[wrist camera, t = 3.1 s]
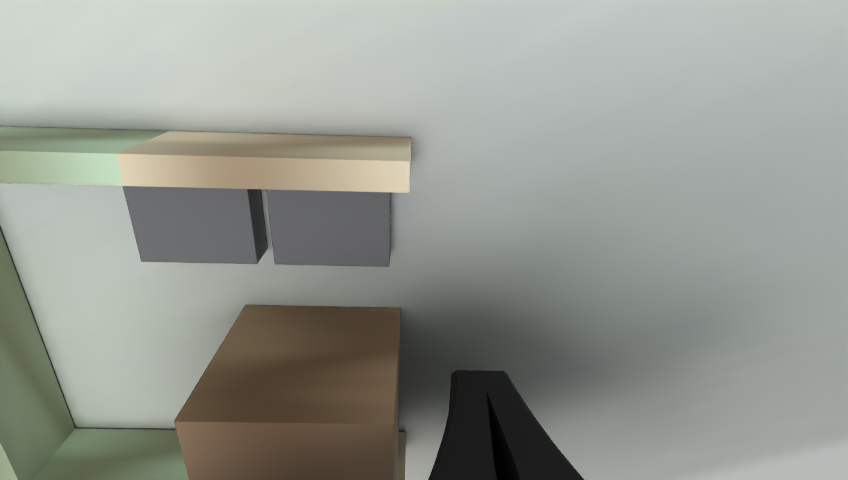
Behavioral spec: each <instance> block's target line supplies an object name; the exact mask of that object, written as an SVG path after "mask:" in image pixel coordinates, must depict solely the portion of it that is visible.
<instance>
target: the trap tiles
mask: <svg viewBox="0 0 848 480" xmlns="http://www.w3.org/2000/svg"><path fill="white" fill-rule="evenodd" d="M123 189H124V193H125V197H126V201H127V205H128V209H129V213H130V218H131V222H132V226H133V230H134V234H135V238H136V242H137V246H138V250H139V254H140V258H141V262H186V263H235V264H257V263H258V262H259V260H260V259H261V258H262V256H263V255H264V253H265V252H266V250H267V241H266V233H265V225H264V216H263V208H262V200H261V192H260V189H231V188H190V187H148V186H123ZM266 192H267V201H268V209H269V218H270V227H271V235H272V244H273V253H274V261H275V264H284V265H332V266H381V267H389V263H390V254H391V192H355V191H314V190H272V189H266Z"/></svg>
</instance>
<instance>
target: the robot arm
mask: <svg viewBox="0 0 848 480" xmlns="http://www.w3.org/2000/svg"><path fill="white" fill-rule="evenodd" d="M429 480H584V479H583V478H582V477H581V475H580V474H579V473H578V472H577V471H576V470H575V468H574V467H573V466H572V465H571V464H570V462H569V461H568V460H567V459H566V458H565V456H564V455H563V454H562V453H561V452H560V450H559V449H558V448H557V446H556V445H555V444H554V443H553V441H552V440H551V439H550V437H549V436H548V435H547V433H546V432H545V430H544V429H543V428H542V426H541V425H540V424H539V422H538V421H537V420H536V418H535V417H534V415H533V414H532V412H531V411H530V410H529V408H528V407H527V405H526V404H525V402H524V401H523V399H522V397H521V396H520V394H519V393H518V391H517V390H516V388H515V386H514V385H513V383H512V381H511V380H510V378H509V376H508V375H507V374H506V373H505V372H504V371H468V370H456V371H455V372H453V373H452V374H451V387H450V402H449V414H448V418H447V423H446V427H445V431H444V435H443V438H442V442H441V445H440V448H439V451H438V454H437V457H436V460H435V463H434V466H433V469H432V472H431V474H430V477H429Z"/></svg>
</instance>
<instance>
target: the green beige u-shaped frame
mask: <svg viewBox="0 0 848 480" xmlns="http://www.w3.org/2000/svg"><path fill="white" fill-rule="evenodd" d="M410 171H411V137H374V136H337V135H300V134H263V133H226V132H189V131H152V130H115V129H78V128H41V127H4V126H0V183H25V184H66V185H107V186H148V187H190V188H231V189H272V190H314V191H355V192H396V193H409V192H410ZM405 452H406V433H401V432H399V441H398V462H397V480H405ZM0 480H189V478H188V474H187V470H186V467H185V463H184V459H183V455H182V451H181V447H180V443H179V439H178V436H177V432H176V430H153V429H75V427H74V424H73V421H72V419H71V416H70V413H69V411H68V408H67V406H66V403H65V400H64V398H63V395H62V392H61V390H60V387H59V384H58V382H57V379H56V376H55V374H54V371H53V368H52V366H51V363H50V360H49V358H48V355H47V353H46V350H45V347H44V345H43V342H42V339H41V337H40V334H39V331H38V329H37V326H36V323H35V321H34V318H33V315H32V313H31V310H30V307H29V305H28V302H27V299H26V297H25V294H24V292H23V289H22V286H21V284H20V281H19V278H18V276H17V273H16V270H15V268H14V265H13V262H12V260H11V257H10V254H9V252H8V249H7V246H6V244H5V241H4V238H3V236H2V233H1V231H0Z"/></svg>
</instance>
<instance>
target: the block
mask: <svg viewBox="0 0 848 480" xmlns="http://www.w3.org/2000/svg"><path fill="white" fill-rule="evenodd" d="M400 310H401V308H391V307H336V306H281V305H245V307H244V308H243V310H242V312H241V313H240V315H239V317H238V318H237V320H236V321H235V323H234V325H233V326H232V328H231V330H230V331H229V333H228V334H227V336H226V338H225V339H224V341H223V343H222V344H221V346H220V347H219V349H218V351H217V352H216V354H215V356H214V357H213V359H212V360H211V362H210V364H209V365H208V367H207V369H206V370H205V372H204V373H203V375H202V377H201V378H200V380H199V382H198V383H197V385H196V386H195V388H194V390H193V391H192V393H191V395H190V396H189V398H188V399H187V401H186V403H185V404H184V406H183V408H182V409H181V411H180V412H179V414H178V416H177V417H176V419H175V421H174V424H175V428H176V432H177V436H178V439H179V443H180V447H181V451H182V455H183V459H184V463H185V467H186V470H187V474H188V478H189V480H397V462H398V441H399V408H400Z"/></svg>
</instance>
